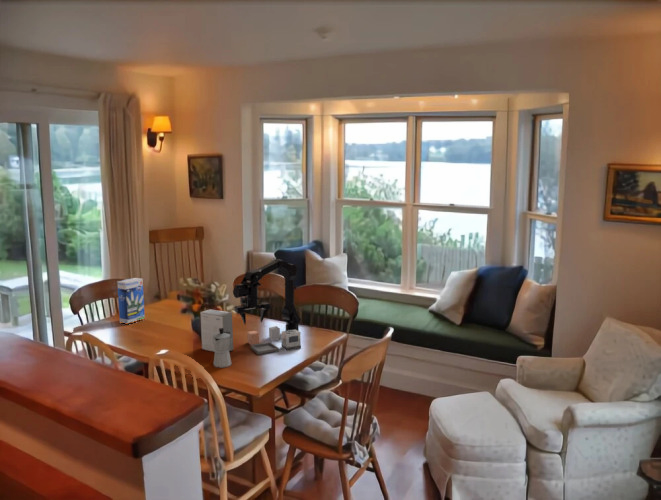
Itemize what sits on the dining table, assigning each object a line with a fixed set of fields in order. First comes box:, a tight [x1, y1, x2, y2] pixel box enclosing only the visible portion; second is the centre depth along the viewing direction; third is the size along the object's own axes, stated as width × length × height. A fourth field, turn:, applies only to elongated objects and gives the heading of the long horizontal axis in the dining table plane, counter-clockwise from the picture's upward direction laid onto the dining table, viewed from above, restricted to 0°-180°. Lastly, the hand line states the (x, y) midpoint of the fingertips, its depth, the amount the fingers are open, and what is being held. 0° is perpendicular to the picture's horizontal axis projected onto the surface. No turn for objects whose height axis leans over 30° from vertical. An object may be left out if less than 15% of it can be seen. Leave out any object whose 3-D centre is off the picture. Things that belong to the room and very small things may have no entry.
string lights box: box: [116, 277, 146, 323], centre depth 338 cm, size 13×8×26 cm, turn 149°
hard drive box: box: [199, 308, 234, 353], centre depth 290 cm, size 16×8×20 cm, turn 59°
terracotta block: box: [247, 330, 260, 346], centre depth 302 cm, size 4×4×6 cm
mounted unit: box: [281, 329, 302, 352], centre depth 294 cm, size 8×7×8 cm
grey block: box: [268, 325, 281, 341], centre depth 309 cm, size 4×4×6 cm
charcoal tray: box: [250, 341, 280, 356], centre depth 291 cm, size 11×11×2 cm
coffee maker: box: [213, 328, 232, 369], centre depth 271 cm, size 15×9×18 cm, turn 164°
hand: (253, 323), depth 300 cm, fingers open, 9 cm apart
